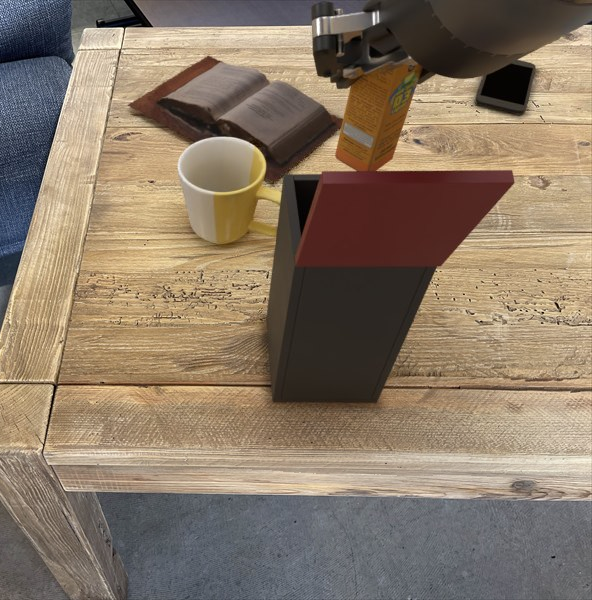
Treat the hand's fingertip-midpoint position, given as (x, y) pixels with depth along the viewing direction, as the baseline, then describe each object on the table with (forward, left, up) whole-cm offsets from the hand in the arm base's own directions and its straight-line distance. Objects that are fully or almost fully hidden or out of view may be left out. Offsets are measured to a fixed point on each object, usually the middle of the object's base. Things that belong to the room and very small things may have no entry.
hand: (376, 71), depth 42 cm
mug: (+14, -10, -32) cm, 36 cm away
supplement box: (-1, +2, -6) cm, 7 cm away
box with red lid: (-1, +3, -31) cm, 32 cm away
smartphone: (-13, -58, -31) cm, 68 cm away
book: (+23, -34, -32) cm, 52 cm away
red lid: (-4, +9, -5) cm, 11 cm away
